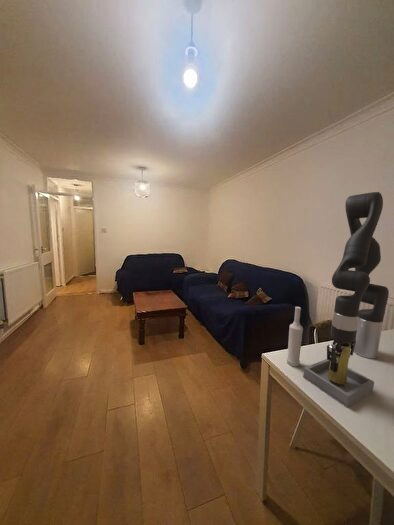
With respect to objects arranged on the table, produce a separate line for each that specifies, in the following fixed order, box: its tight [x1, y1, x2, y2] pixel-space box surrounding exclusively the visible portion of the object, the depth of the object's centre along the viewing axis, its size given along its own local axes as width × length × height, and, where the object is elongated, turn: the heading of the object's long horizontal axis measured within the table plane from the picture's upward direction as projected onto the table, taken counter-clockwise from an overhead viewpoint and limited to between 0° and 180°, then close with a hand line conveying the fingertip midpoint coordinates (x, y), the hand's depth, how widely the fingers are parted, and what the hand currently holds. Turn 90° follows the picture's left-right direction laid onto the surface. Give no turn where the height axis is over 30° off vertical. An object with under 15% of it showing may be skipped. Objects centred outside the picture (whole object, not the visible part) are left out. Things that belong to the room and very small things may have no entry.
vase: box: [327, 345, 351, 384], centre depth 79 cm, size 6×6×14 cm
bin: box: [302, 358, 375, 408], centre depth 80 cm, size 16×16×4 cm
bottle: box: [286, 306, 304, 368], centre depth 91 cm, size 5×5×25 cm
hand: (338, 368), depth 80 cm, fingers open, 5 cm apart
